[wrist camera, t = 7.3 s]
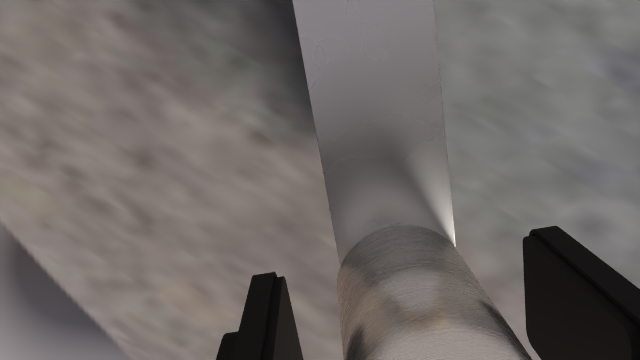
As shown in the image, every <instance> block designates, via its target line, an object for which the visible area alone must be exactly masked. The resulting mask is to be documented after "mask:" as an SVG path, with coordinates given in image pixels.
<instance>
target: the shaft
mask: <svg viewBox="0 0 640 360" xmlns="http://www.w3.org/2000/svg"><path fill="white" fill-rule="evenodd" d="M292 1H293V6H294V12H295V17H296V23H297V28H298V34H299V40H300V45H301V51H302V56H303V62H304V67H305V73H306V79H307V84H308V90H309V95H310V101H311V107H312V112H313V118H314V123H315V129H316V134H317V140H318V146H319V151H320V157H321V162H322V168H323V174H324V179H325V185H326V190H327V196H328V201H329V207H330V213H331V218H332V224H333V229H334V235H335V241H336V246H337V252H338V257H339V263H340V269H339V272H338V278H337V295H338V305H339V315H340V326H341V336H342V346H343V356H344V360H532V359H531V357H530V356H529V354H528V353H527V352H526V350H525V349H524V347H523V346H522V344H521V343H520V341H519V340H518V338H517V337H516V335H515V334H514V333H513V331H512V330H511V328H510V327H509V325H508V324H507V322H506V321H505V319H504V318H503V316H502V315H501V313H500V312H499V311H498V309H497V308H496V306H495V305H494V303H493V302H492V300H491V299H490V297H489V296H488V294H487V293H486V292H485V290H484V289H483V287H482V286H481V284H480V283H479V281H478V280H477V278H476V277H475V275H474V274H473V273H472V271H471V270H470V268H469V267H468V265H467V264H466V262H465V261H464V259H463V258H462V256H461V255H460V254H459V252H458V251H457V249H456V245H455V234H454V223H453V212H452V201H451V190H450V179H449V168H448V157H447V146H446V135H445V124H444V113H443V102H442V91H441V80H440V69H439V58H438V47H437V36H436V25H435V14H434V3H433V0H292Z"/></svg>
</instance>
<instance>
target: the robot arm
mask: <svg viewBox="0 0 640 360" xmlns="http://www.w3.org/2000/svg"><path fill="white" fill-rule="evenodd" d="M523 262H524V287H525V311H526V331H527V336H528V339H529V342H530V344H531V346H532V347H533V349H534V350H535V351H536V353H537V354H538V356H539V357H540V358H541V360H640V289H639V288H637V287H636V286H635V285H633V284H632V283H631V282H630V281H628V280H627V279H626V278H624V277H623V276H622V275H620V274H619V273H618V272H617V271H615V270H614V269H613V268H611V267H610V266H609V265H607V264H606V263H605V262H604V261H602V260H601V259H600V258H598V257H597V256H596V255H594V254H593V253H592V252H591V251H589V250H588V249H587V248H585V247H584V246H583V245H581V244H580V243H579V242H577V241H576V240H575V239H574V238H572V237H571V236H570V235H568V234H567V233H566V232H564V231H563V230H562V229H561V228H559V227H557V226H551V227H545V228H539V229H533V230H531V231H530V233H529V236H527V237H524V238H523ZM216 360H303V356H302V351H301V347H300V342H299V338H298V333H297V329H296V324H295V320H294V315H293V311H292V306H291V302H290V297H289V293H288V288H287V284H286V280H285V277H284V276H282V277H277V275H276V273H275V272H271V273H265V274H259V275H253V276H252V279H251V283H250V287H249V291H248V295H247V299H246V303H245V307H244V311H243V315H242V319H241V323H240V327H239V331H238V332H232V333H226V334H225V335H224V336H223V338H222V341H221V344H220V348H219V351H218V354H217V358H216Z"/></svg>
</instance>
